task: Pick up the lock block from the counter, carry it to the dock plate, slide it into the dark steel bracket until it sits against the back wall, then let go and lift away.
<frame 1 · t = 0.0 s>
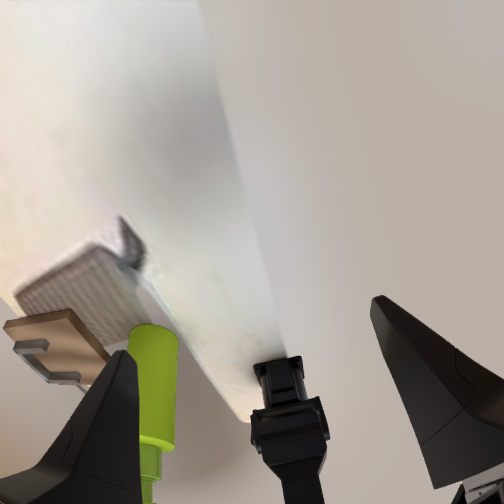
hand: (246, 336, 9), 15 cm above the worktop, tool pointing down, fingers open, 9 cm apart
dock: (64, 349, 32), on the worktop
soap dispenser: (153, 341, 32), on the worktop
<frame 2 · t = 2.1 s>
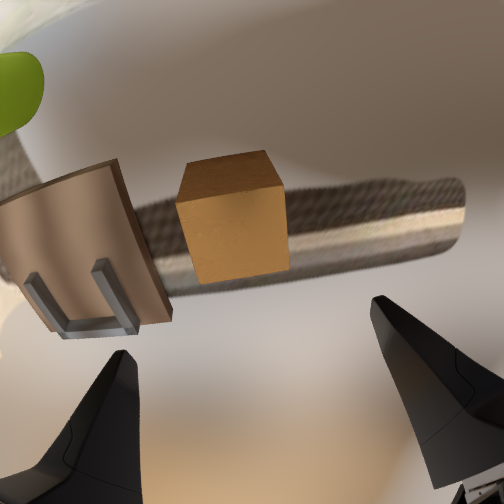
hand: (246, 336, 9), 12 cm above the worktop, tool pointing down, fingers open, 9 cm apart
dock: (73, 259, 21), on the worktop
soap dispenser: (20, 92, 12), on the worktop
lock block: (231, 190, 19), on the worktop
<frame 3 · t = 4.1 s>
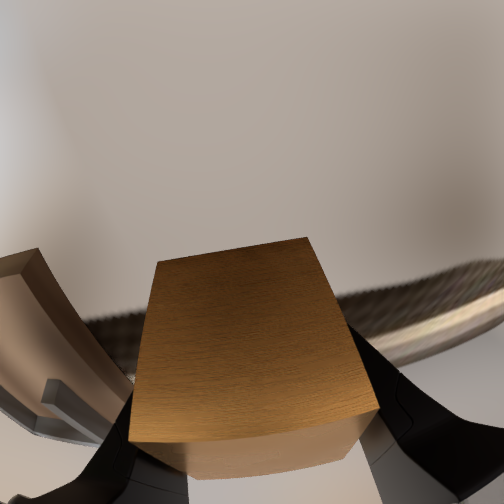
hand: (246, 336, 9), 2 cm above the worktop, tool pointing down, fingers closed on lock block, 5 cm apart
dock: (24, 360, 12), on the worktop
lock block: (242, 302, 11), on the worktop, touching gripper
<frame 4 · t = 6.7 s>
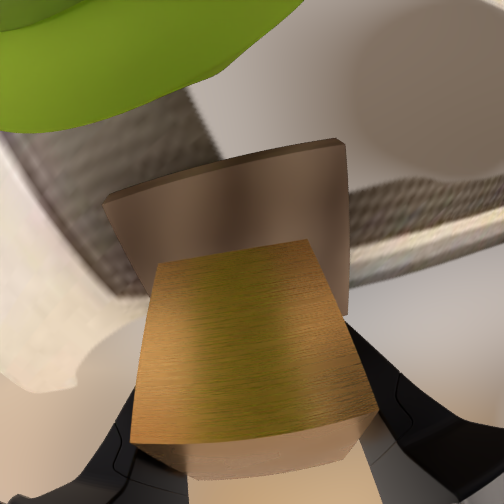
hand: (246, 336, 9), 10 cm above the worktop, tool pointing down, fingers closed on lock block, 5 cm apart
dock: (244, 257, 20), on the worktop
soap dispenser: (197, 36, 12), on the worktop
lock block: (242, 304, 11), point 8 cm above the worktop, touching gripper
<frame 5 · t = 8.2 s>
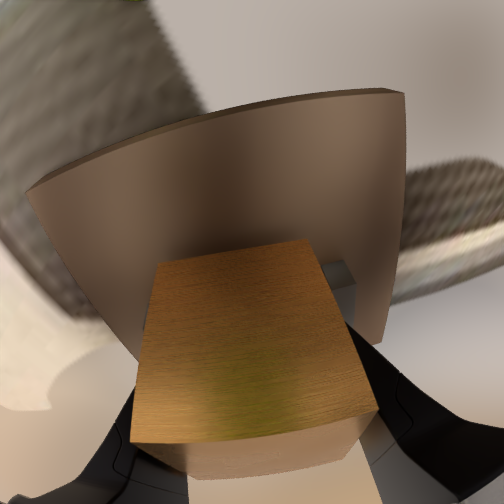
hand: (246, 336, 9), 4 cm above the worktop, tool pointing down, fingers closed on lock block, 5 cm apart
dock: (242, 269, 13), on the worktop
lock block: (242, 304, 11), point 3 cm above the worktop, touching gripper
when the fingers open (4 cm above the worktop, at t = 9.3 s): lock block stays where it is, resting on dock.
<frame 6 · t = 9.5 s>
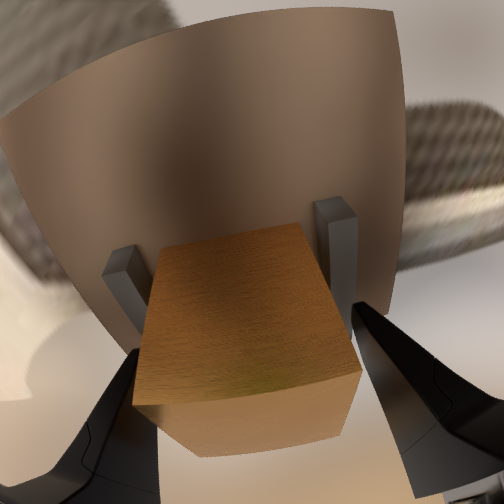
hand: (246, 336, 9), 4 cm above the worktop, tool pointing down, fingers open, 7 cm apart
dock: (223, 214, 11), on the worktop
lock block: (240, 286, 12), point 1 cm above the worktop, touching dock
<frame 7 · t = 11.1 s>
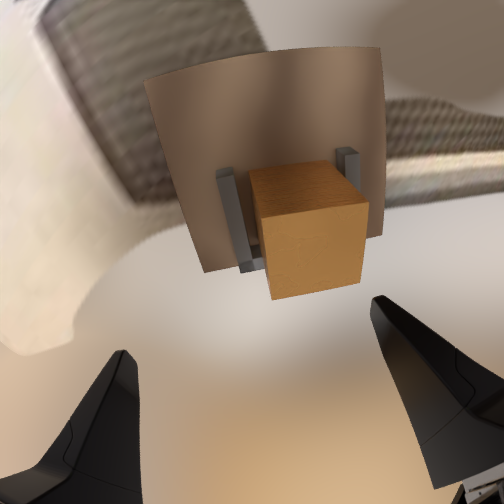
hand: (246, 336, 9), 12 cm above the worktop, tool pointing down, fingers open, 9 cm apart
dock: (281, 156, 18), on the worktop
lock block: (291, 200, 19), point 1 cm above the worktop, touching dock
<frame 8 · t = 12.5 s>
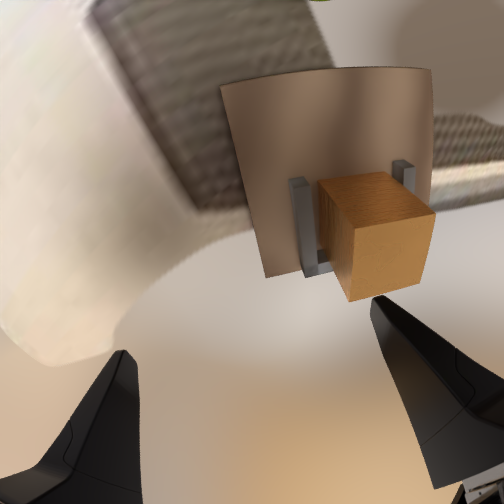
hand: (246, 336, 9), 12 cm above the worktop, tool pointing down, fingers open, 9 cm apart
dock: (342, 166, 19), on the worktop
lock block: (352, 208, 19), point 1 cm above the worktop, touching dock
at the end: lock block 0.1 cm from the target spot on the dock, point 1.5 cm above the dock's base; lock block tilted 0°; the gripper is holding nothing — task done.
